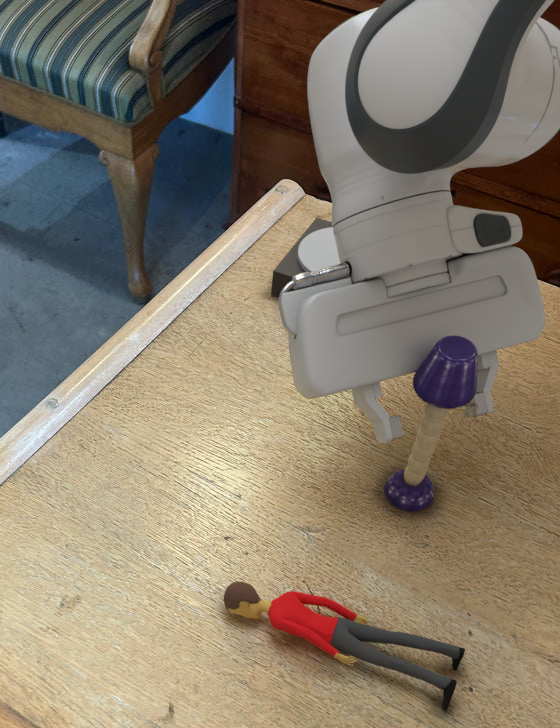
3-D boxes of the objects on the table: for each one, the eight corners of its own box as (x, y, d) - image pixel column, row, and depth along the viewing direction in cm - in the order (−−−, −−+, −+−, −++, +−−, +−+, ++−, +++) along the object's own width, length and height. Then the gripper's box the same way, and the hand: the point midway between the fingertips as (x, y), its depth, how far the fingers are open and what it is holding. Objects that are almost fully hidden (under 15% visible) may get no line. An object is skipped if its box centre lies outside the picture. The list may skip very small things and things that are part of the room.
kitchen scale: (408, 270, 97) (415, 241, 94) (370, 327, 91) (376, 298, 88) (313, 241, 100) (317, 212, 97) (270, 294, 94) (273, 265, 92)
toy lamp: (447, 506, 76) (503, 355, 63) (402, 525, 75) (450, 375, 62) (414, 468, 79) (461, 316, 66) (370, 486, 78) (409, 335, 65)
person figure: (450, 678, 68) (228, 604, 72) (466, 636, 66) (237, 563, 71) (445, 717, 64) (209, 635, 68) (462, 673, 62) (218, 592, 66)
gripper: (288, 271, 63) (331, 462, 65) (539, 212, 66) (573, 393, 68) (258, 287, 69) (299, 461, 71) (490, 232, 73) (522, 398, 75)
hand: (435, 427), depth 70 cm, fingers open, 6 cm apart
